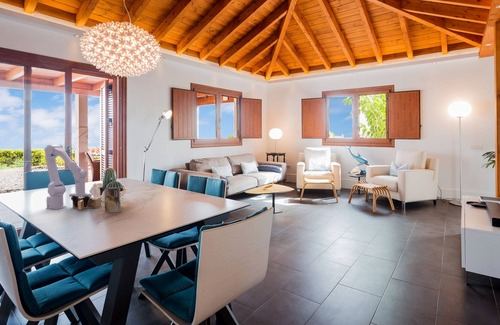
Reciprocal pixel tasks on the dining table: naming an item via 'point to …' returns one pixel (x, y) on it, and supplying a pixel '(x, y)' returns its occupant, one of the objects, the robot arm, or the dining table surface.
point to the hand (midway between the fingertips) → (80, 207)
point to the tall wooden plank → (81, 205)
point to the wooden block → (91, 202)
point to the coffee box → (112, 200)
